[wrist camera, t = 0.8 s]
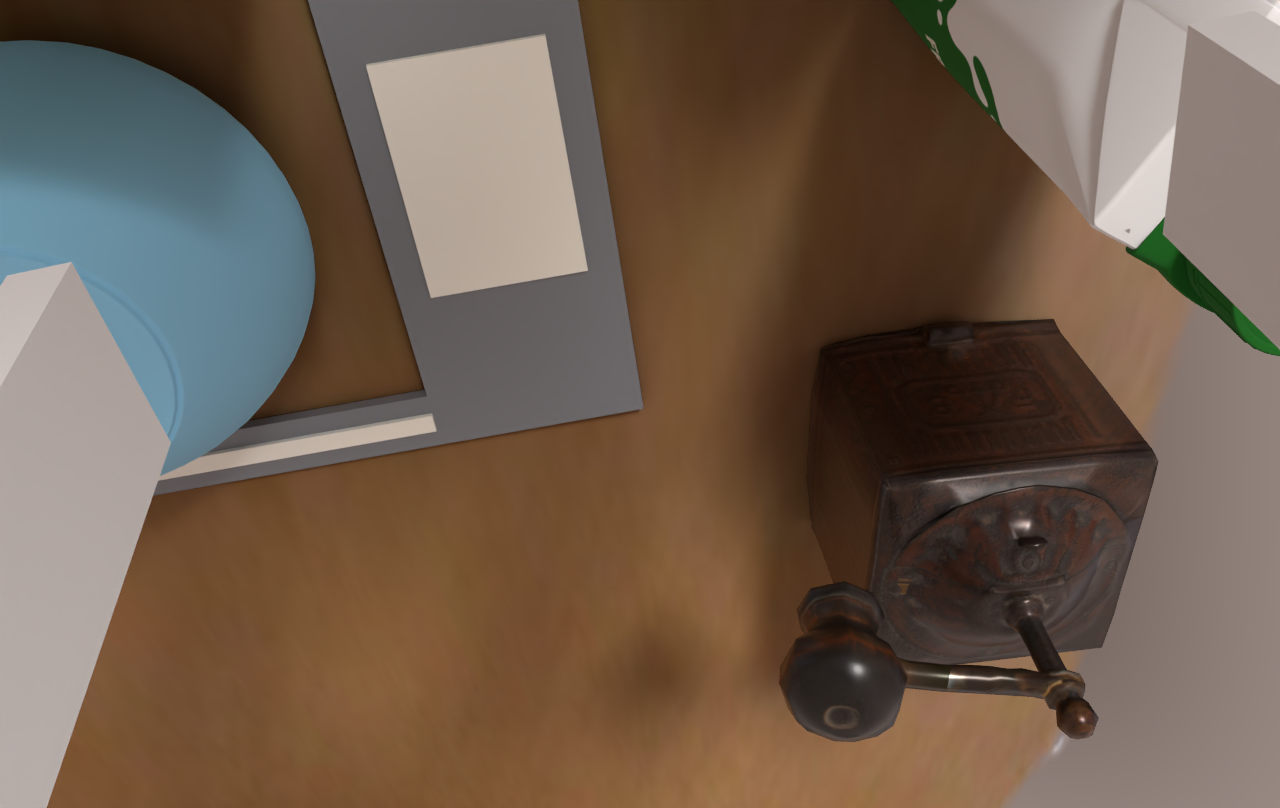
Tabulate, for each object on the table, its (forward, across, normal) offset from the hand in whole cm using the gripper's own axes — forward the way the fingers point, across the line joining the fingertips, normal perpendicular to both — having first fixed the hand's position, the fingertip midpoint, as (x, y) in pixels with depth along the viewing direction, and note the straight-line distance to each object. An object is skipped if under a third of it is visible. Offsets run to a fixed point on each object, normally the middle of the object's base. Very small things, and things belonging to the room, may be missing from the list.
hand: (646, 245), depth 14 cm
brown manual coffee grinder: (+26, +9, -26) cm, 38 cm away
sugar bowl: (+27, -18, -10) cm, 34 cm away
